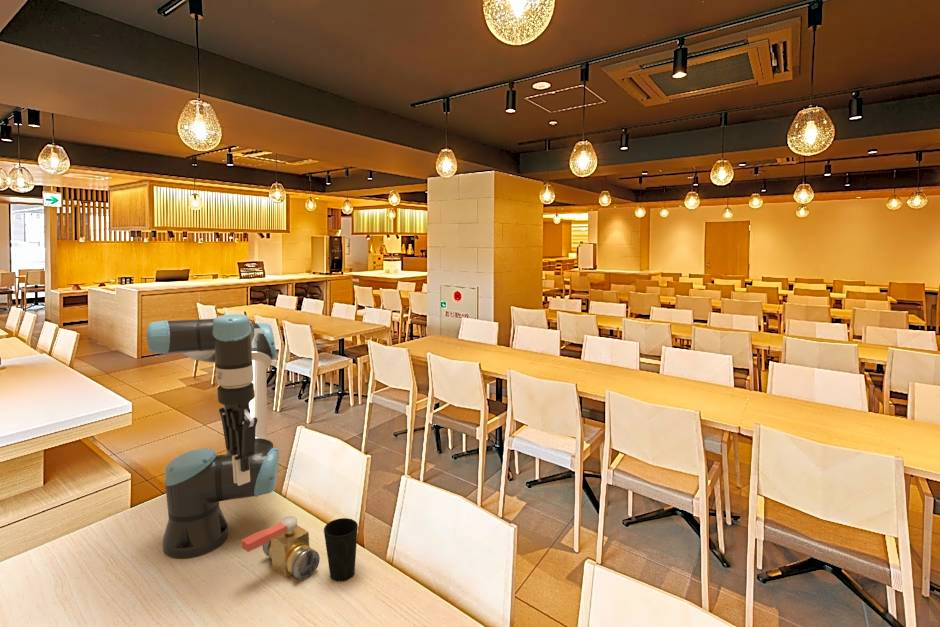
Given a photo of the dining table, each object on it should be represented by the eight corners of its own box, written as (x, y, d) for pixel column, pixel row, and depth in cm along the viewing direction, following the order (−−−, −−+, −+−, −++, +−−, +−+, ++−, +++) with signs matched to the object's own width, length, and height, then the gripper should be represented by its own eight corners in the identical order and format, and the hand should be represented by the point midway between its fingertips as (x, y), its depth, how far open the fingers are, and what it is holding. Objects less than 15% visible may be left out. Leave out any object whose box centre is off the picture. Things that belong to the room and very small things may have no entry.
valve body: (263, 560, 126) (261, 523, 124) (287, 547, 131) (285, 512, 129) (295, 585, 117) (293, 545, 116) (320, 570, 122) (318, 532, 121)
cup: (350, 587, 117) (349, 538, 115) (319, 582, 118) (317, 534, 116) (364, 565, 124) (362, 520, 122) (334, 561, 126) (333, 516, 124)
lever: (291, 522, 125) (291, 514, 125) (300, 527, 123) (300, 519, 122) (240, 546, 115) (240, 538, 115) (249, 552, 113) (248, 544, 113)
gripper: (204, 381, 117) (211, 478, 120) (234, 393, 108) (241, 498, 111) (236, 374, 122) (242, 467, 126) (267, 386, 114) (273, 485, 117)
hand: (242, 481), depth 119 cm, fingers closed
